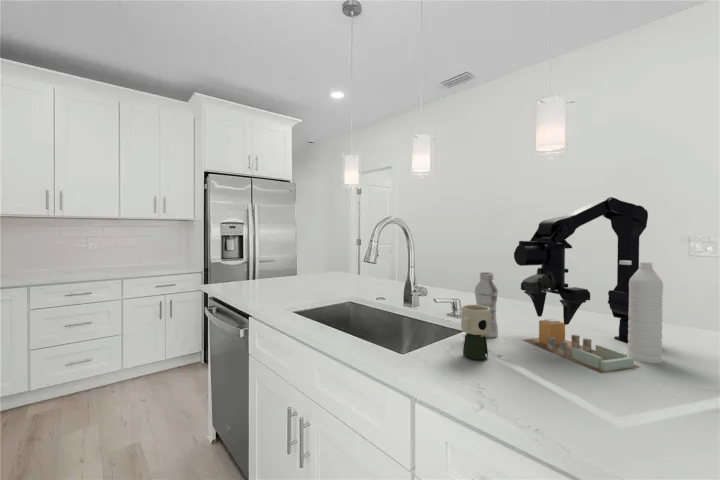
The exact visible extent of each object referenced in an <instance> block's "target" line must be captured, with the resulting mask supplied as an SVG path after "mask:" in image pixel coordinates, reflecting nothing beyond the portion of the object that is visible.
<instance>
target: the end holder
mask: <svg viewBox="0 0 720 480" xmlns="http://www.w3.org/2000/svg"><path fill="white" fill-rule="evenodd" d="M595 351H596V355H594V354H591V353H589V352H586V351H583V350H581V349H578V348H572V358H574V359H576V360H578V361H581V362H583V363H586V364H588V365H591V366H593V367H595V368H598V369H600V368H601V370H603V371H610V370H617V369H624V368H630V367H633V364H634V359H633V358H631V357H628V353H624V352H621V351H619V350H616V349H613V348H610V347H608V346H604V345H601V344H595ZM597 355H598V356H597ZM599 356H600V357H599ZM602 357H603V358H606V359H609V360H604V361H602Z"/></svg>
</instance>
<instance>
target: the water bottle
mask: <svg viewBox="0 0 720 480" xmlns="http://www.w3.org/2000/svg"><path fill="white" fill-rule="evenodd" d="M631 262H632V261H625V260H620V261H619V264H621V265H631ZM653 267H654V266H653V262H647V261H646V262H645V261H639V269H638V270H637V271H636V272H635V273H634V274H633V276H632V277H631V278H630V280H629V312H628V318H629V320H628V326H629V328H628V332H629V333H628V341H629V342H627V357H631V358H633V361H634V360H635V361H638V362H643V363H647V364H648V363H649V364H660V363H662V361H663V359H662V352H663V351H662V346H663V343H662V342H663V340H662V339H663V333H662V331H663V302H664V299H663V296H664V294H663V291H664V282H663V280H662V279H661V277H660V276H659V275H658V273H657V272H656V271H655V270H654V269H653Z"/></svg>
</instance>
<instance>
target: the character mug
mask: <svg viewBox="0 0 720 480" xmlns="http://www.w3.org/2000/svg"><path fill="white" fill-rule="evenodd" d="M460 311H461V313H460V314H461V315H460V316H461V318H460V319H461V323H460V325H461V331H462V332H464V333H465V336H464V340H463V347H462V355H464V356H466V357H468V358H471V359H474V360H485V359H486V358H489V353H488V351H489V350H488V344H487V343H488V342H487V338H486V337H485V334H489V332H490V326H489V321H490V308H489V307H486V306H482V305H477V304H465V305H462V306H461V309H460Z"/></svg>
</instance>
